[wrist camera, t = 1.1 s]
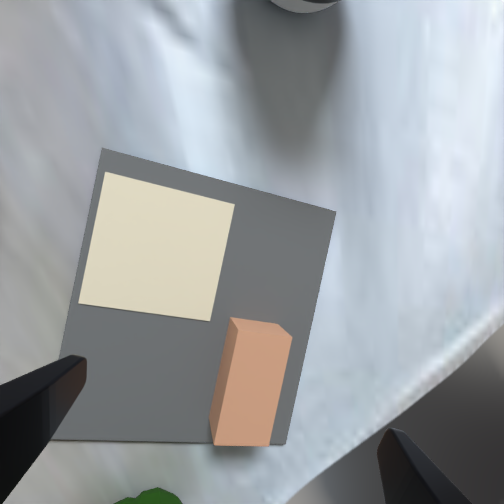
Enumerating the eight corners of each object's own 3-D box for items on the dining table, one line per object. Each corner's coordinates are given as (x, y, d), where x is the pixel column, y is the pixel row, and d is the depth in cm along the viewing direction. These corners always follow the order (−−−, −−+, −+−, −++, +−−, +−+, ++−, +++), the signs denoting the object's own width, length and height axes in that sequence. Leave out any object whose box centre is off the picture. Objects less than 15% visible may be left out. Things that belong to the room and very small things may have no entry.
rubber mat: (283, 440, 24) (285, 445, 24) (45, 434, 20) (41, 439, 19) (333, 211, 24) (337, 211, 24) (103, 149, 19) (101, 147, 19)
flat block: (257, 419, 23) (268, 446, 20) (208, 417, 22) (213, 445, 19) (277, 323, 23) (292, 337, 20) (230, 317, 22) (238, 330, 19)
